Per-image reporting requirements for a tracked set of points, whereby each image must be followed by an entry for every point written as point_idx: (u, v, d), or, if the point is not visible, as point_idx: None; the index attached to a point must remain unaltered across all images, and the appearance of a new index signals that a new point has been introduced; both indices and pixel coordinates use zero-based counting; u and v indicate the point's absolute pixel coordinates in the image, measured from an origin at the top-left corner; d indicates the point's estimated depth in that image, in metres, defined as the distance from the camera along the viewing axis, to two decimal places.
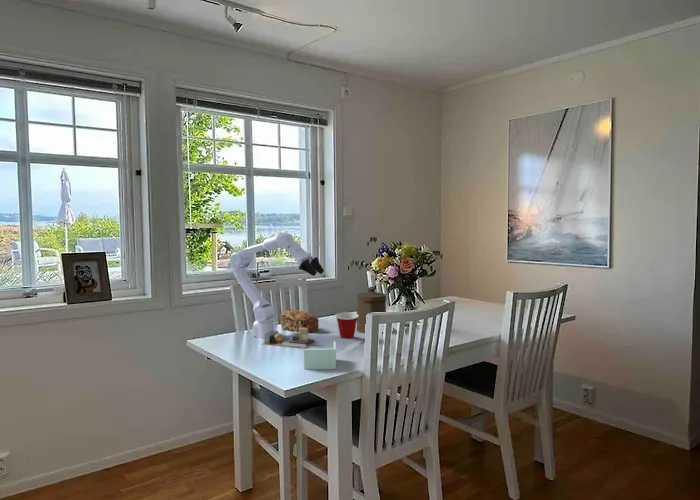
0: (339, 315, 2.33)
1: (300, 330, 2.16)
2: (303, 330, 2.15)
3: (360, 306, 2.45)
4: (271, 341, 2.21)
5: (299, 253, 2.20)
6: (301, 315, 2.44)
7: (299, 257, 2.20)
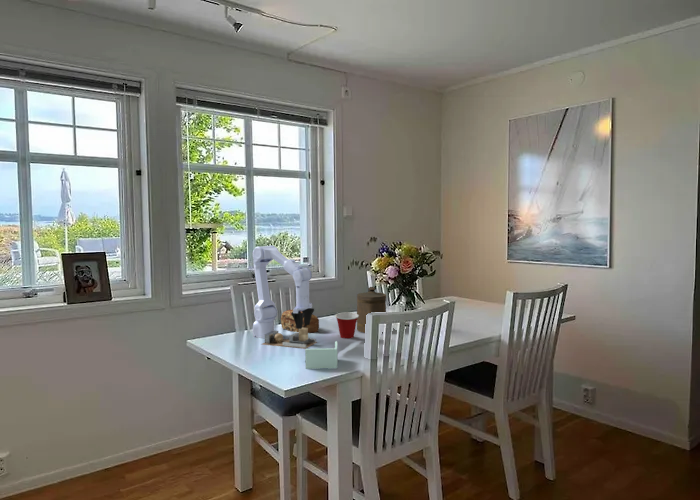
0: (339, 315, 2.33)
1: (300, 330, 2.16)
2: (303, 330, 2.15)
3: (360, 306, 2.45)
4: (271, 341, 2.21)
5: (302, 300, 2.13)
6: None
7: (300, 303, 2.13)
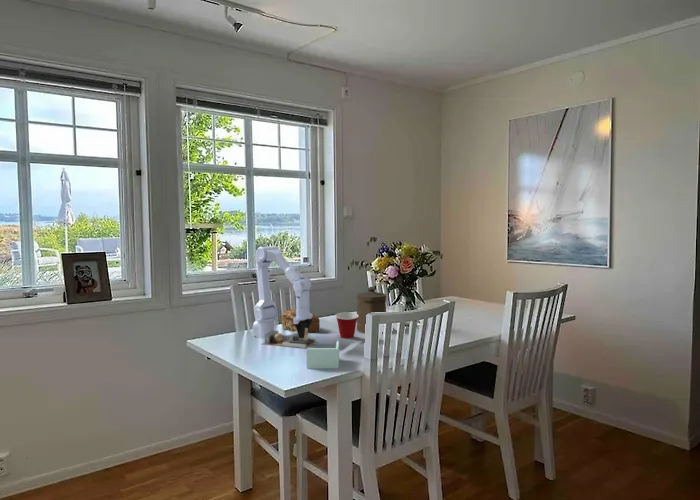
0: (339, 315, 2.33)
1: None
2: None
3: (360, 306, 2.45)
4: (271, 341, 2.21)
5: (303, 310, 2.13)
6: None
7: (300, 313, 2.14)
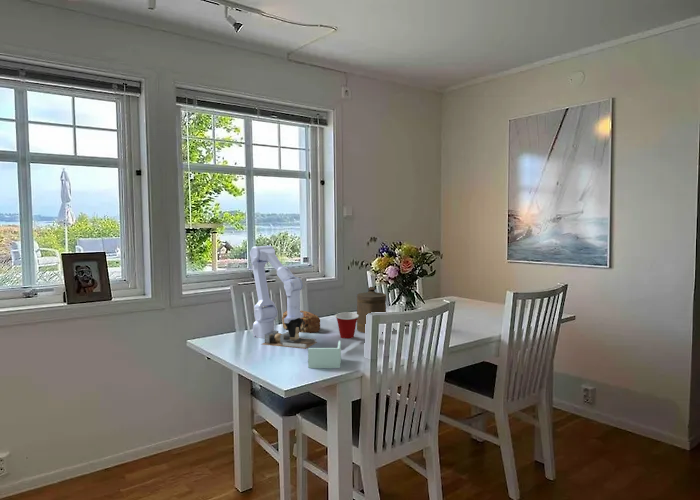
0: (339, 315, 2.33)
1: None
2: None
3: (360, 306, 2.45)
4: (271, 341, 2.21)
5: (293, 310, 2.15)
6: (303, 315, 2.45)
7: (290, 313, 2.15)
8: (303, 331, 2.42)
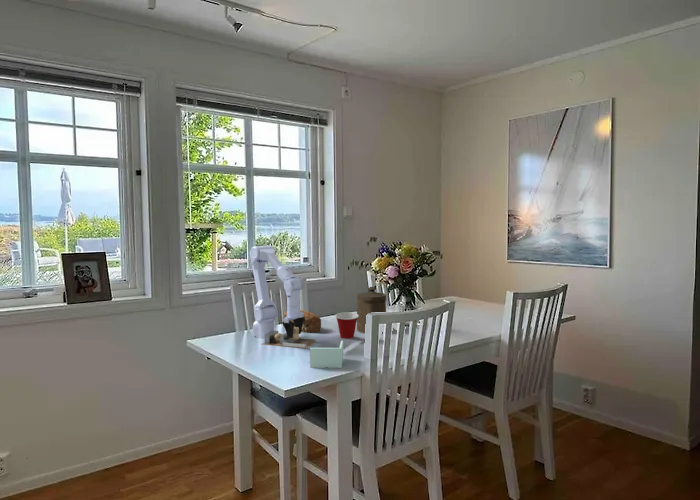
0: (339, 315, 2.33)
1: None
2: (294, 329, 2.17)
3: (360, 306, 2.45)
4: (271, 341, 2.21)
5: (293, 309, 2.15)
6: (304, 315, 2.45)
7: (290, 312, 2.15)
8: (304, 331, 2.42)
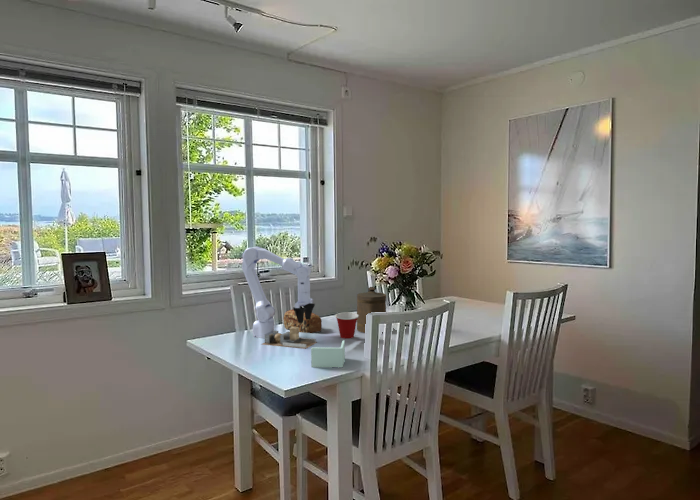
0: (339, 315, 2.33)
1: (291, 329, 2.17)
2: (294, 329, 2.17)
3: (360, 306, 2.45)
4: (271, 341, 2.21)
5: (304, 296, 2.25)
6: (304, 315, 2.45)
7: (301, 298, 2.25)
8: (304, 331, 2.43)
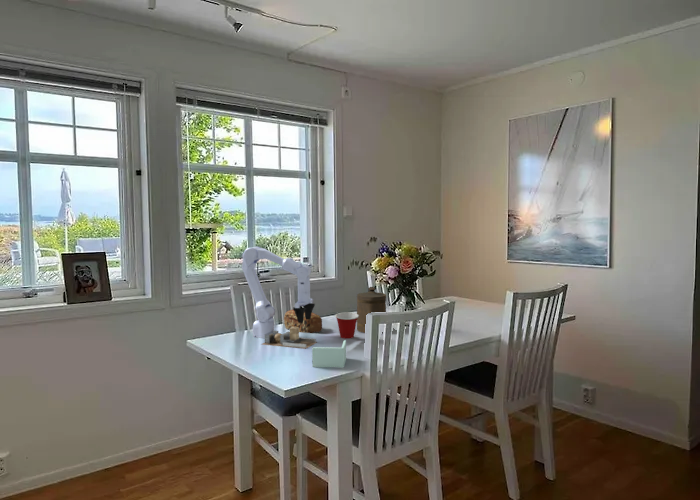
0: (339, 315, 2.33)
1: (291, 329, 2.17)
2: (294, 329, 2.17)
3: (360, 306, 2.45)
4: (271, 341, 2.21)
5: (304, 296, 2.25)
6: None
7: (301, 298, 2.25)
8: (305, 331, 2.43)
